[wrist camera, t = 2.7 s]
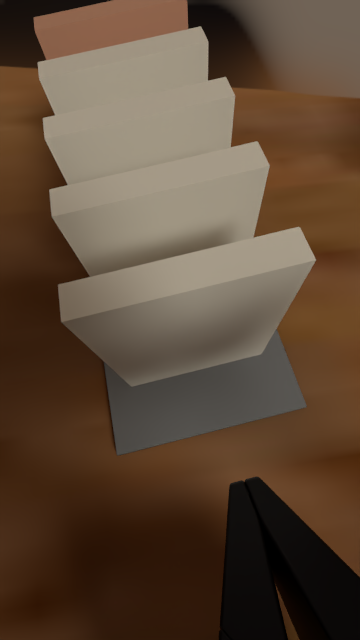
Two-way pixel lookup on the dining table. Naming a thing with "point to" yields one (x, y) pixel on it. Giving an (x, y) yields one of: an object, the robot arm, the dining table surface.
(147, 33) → the tile
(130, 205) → the tile
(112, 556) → the dining table surface
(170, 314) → the tile
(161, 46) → the tile
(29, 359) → the dining table surface
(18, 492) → the dining table surface
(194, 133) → the tile
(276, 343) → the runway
